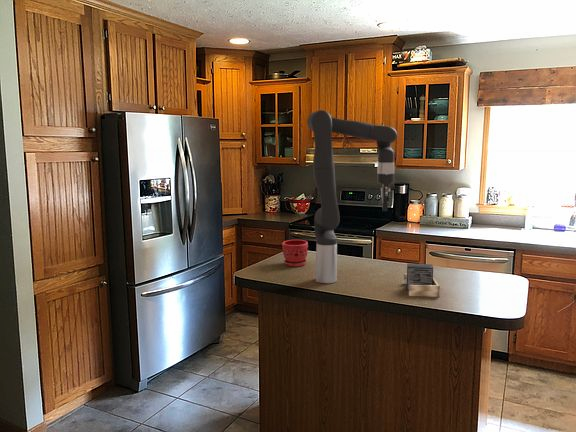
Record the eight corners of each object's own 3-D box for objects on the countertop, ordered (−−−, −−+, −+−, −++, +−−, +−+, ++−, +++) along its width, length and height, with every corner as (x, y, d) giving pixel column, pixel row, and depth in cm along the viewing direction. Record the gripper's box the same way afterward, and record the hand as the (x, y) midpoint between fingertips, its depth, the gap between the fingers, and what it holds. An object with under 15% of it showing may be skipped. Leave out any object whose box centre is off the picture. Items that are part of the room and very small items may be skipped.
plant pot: (281, 262, 245) (281, 239, 244) (306, 261, 247) (305, 239, 245) (283, 268, 233) (283, 244, 231) (309, 267, 234) (309, 244, 232)
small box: (431, 287, 199) (432, 263, 197) (432, 292, 193) (433, 267, 191) (406, 286, 201) (407, 262, 200) (406, 290, 195) (407, 266, 194)
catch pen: (409, 295, 188) (409, 285, 187) (403, 283, 205) (403, 273, 205) (439, 296, 187) (439, 286, 186) (431, 284, 204) (431, 274, 203)
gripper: (376, 171, 215) (375, 209, 217) (378, 173, 202) (377, 213, 204) (392, 171, 214) (391, 209, 217) (396, 173, 201) (395, 213, 204)
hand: (384, 210), depth 211 cm, fingers closed
